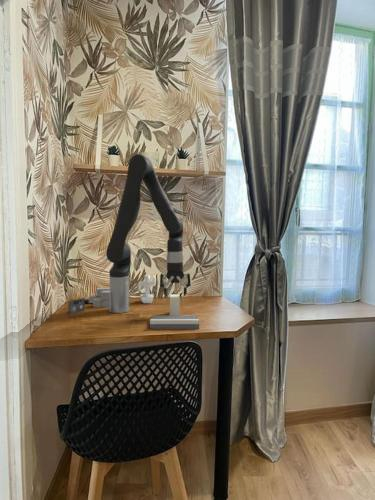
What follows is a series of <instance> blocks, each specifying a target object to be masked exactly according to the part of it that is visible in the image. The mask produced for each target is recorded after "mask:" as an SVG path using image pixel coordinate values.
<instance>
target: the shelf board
mask: <svg viewBox="0 0 375 500" xmlns="http://www.w3.org/2000/svg"><path fill="white" fill-rule="evenodd" d="M149 329H150V330H168V329H169V330H174V329H175V330H181V329H182V330H185V329H188V330H193V329H195V330H197V329H199V330H200V319H199V317H198V315H192V314H191V315H183V314H181V315H170V314H169V315H151V318H150V319H149Z"/></svg>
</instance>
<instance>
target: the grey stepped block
mask: <svg viewBox="0 0 375 500" xmlns="http://www.w3.org/2000/svg"><path fill="white" fill-rule="evenodd" d="M109 292H110V287H97V288H96V292H95V294H94V295H93V294H91V295H89V296H88V304H89V303H93V305H92V306H93V308H109Z"/></svg>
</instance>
